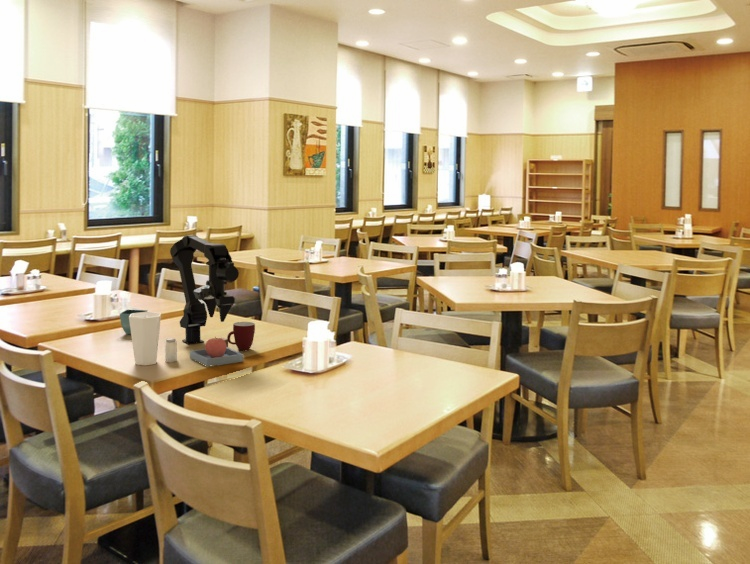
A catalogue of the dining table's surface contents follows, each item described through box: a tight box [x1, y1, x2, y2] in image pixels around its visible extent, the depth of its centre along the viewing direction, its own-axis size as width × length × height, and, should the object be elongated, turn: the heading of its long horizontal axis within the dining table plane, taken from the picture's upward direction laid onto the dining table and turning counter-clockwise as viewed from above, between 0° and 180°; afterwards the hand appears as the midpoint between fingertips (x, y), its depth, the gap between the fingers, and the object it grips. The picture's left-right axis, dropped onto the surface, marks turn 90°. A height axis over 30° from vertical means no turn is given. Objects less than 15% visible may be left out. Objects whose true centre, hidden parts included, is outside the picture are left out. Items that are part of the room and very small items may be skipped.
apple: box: [204, 336, 227, 358], centre depth 257 cm, size 7×7×8 cm
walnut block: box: [220, 337, 229, 348], centre depth 272 cm, size 4×4×4 cm
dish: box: [189, 346, 244, 367], centre depth 257 cm, size 14×14×3 cm
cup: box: [129, 311, 162, 366], centre depth 249 cm, size 11×10×17 cm
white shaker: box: [164, 337, 178, 363], centre depth 254 cm, size 4×4×8 cm
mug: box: [226, 321, 256, 352], centre depth 272 cm, size 11×8×10 cm
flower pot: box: [119, 309, 149, 335], centre depth 293 cm, size 9×9×9 cm
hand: (216, 319), depth 269 cm, fingers open, 9 cm apart
